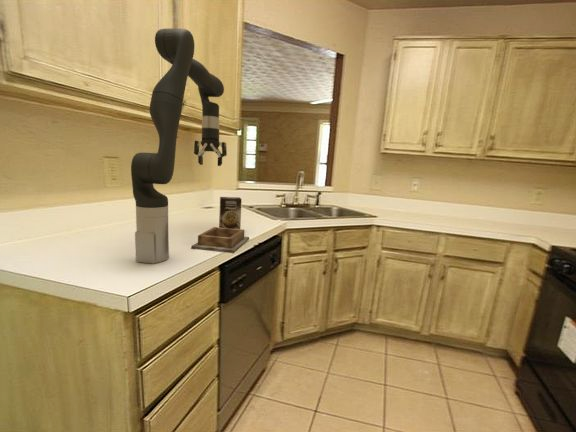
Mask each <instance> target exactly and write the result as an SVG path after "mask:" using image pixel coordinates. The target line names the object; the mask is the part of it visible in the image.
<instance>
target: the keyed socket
mask: <svg viewBox="0 0 576 432" xmlns="http://www.w3.org/2000/svg"><path fill="white" fill-rule="evenodd" d="M249 240H250V236H245V229H242V228H240V229H231V228H220V227H219V226H214V227H211V228H210V229H208V230H206V231H204V232H202V233H200V234H198V235H197V242H195V243H194V244H192V245H191V246H190V247H191V248H190V249H192V250H198V251H199V250H201V251H210V252H211V251H212V252H219V253H229V254H234V253H235V252H236V251H237V252H238V250H239V249H240V248H241V247H242V246H244V245H245V244H246V243H247V242H249Z"/></svg>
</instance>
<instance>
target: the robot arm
mask: <svg viewBox="0 0 576 432" xmlns="http://www.w3.org/2000/svg"><path fill="white" fill-rule="evenodd" d="M154 44H155V48H156V51H157V52H158V54H159V56H160V57H161V58H162V59H164V61H166V62H167V63H169V64H171V66H170V68H169V69H168V71H167V72H166V73H165V74H164V75H163V76H161V77H162V78H160V80H159V81H158V82H157V84H155V86H154V87H153V90H152V93H151V97H150V104H149V115H150V119H151V120H152V123H153V125H154V127H155V129H156V131H157V134H158V138H159V140H158V150H157V152H137V153H135V154H134V156H132V159H131V163H130V164H131V165H130V176H131V185H132V186H131V188H132V195H133V198H134V201H135V222H136V223H135V224H136V226H135V227H136V231H135V232H134V244H135V262H136V263H144V264H151V265H153V264H156V263H162V262H165V261H167V260H169V258H170V247H169V242H170V241H169V240H170V239H169V238H170V237H169V198H168V196H167V195H165V194H163V193H161V192H159V191H158V190H157V189H156V188H155V187H154V185H167V184H169V183H170V182H171V180H172V179H173V175H174V172H175V161H176V150H177V149H176V148H177V139H178V132H179V125H180V120H181V115H182V110H183V105H184V98H185V92H186V86H187V81H188V78H190V80H192V82H193V83H195V84H196V86H197V87H198V88H197V89H198V93H199V96H200V102H201V107H202V115H201V116H202V119H201V141H199V140H195V141H194V147H193V155H196V156H197V158H198V159H197V160H198V161H197V162H198V164H199V165H200V166H203V165H204V163H203V162H204V157H203V155H204V154H205V153H206V152H211V153H212V152H213V153H215V154H216V156H217V167H221V166H222V165H223V157H226V156H227V155H228V153H227V143H226V142H224V141H222V142H221V141H220V128H221V127H220V106H219V104H218V103H216V102H213V101H210V98H220V97H222V96H223V94H224V92H225V87H224V84H223V82H222V81H221V79H220V78H218V77H217V76H215V75H214V74H212V73H211V72H210V71H209V70H208V69H207V68H206V67H205V65H204V64H202V63H201V62H200V61H198V60H197V59H194V55H195V39H194V35H193V34H192V32H191V31H190V30H188V29H186V28H177V27H176V28H161V29H159V30H157V31H156V32H155V36H154ZM200 146H202V147H201V149H200ZM219 147H221V149H219Z"/></svg>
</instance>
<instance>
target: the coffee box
mask: <svg viewBox="0 0 576 432" xmlns="http://www.w3.org/2000/svg"><path fill="white" fill-rule="evenodd" d="M218 220H219V221H218V222H219V223H218V227H220V228H231V229H241V220H242V198H241V197H237V196H236V197H235V196H233V197H232V196H219V219H218Z"/></svg>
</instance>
